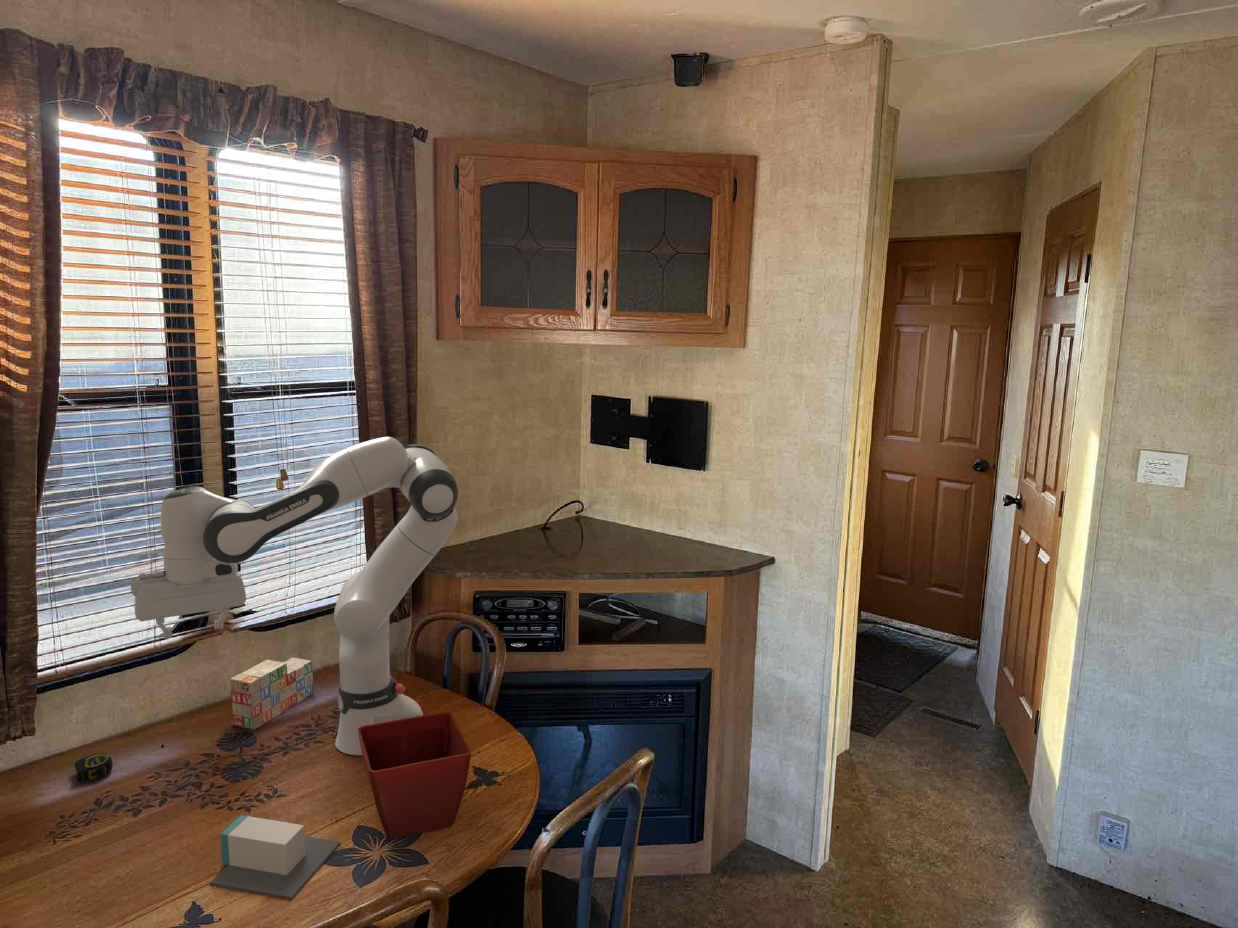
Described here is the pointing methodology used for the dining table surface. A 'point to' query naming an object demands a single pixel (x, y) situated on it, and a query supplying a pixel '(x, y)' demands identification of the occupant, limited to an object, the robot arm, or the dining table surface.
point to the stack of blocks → (269, 690)
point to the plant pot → (416, 772)
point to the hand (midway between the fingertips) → (193, 632)
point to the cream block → (263, 844)
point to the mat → (276, 882)
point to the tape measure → (93, 767)
